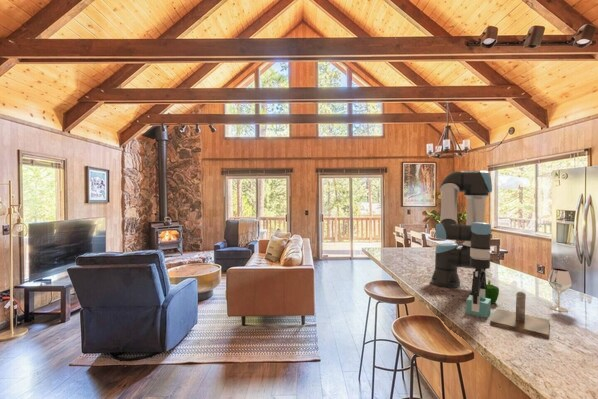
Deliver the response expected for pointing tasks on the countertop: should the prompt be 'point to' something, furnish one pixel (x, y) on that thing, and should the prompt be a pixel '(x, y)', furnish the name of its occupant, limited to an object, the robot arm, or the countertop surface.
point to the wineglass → (559, 284)
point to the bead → (483, 307)
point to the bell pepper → (491, 292)
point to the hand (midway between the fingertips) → (478, 307)
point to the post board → (521, 326)
